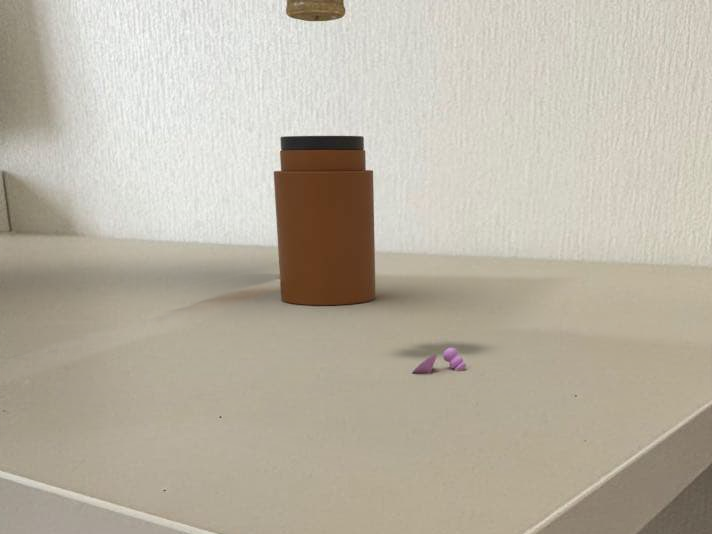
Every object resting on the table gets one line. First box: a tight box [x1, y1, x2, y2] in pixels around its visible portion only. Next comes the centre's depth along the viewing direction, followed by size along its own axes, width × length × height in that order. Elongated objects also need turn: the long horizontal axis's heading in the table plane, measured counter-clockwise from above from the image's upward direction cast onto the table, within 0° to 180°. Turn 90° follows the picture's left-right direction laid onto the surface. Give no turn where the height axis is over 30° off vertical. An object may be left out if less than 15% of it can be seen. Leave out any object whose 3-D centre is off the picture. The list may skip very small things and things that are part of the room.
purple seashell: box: [411, 347, 467, 374], centre depth 49 cm, size 3×2×2 cm
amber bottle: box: [273, 135, 377, 306], centre depth 72 cm, size 8×8×12 cm
